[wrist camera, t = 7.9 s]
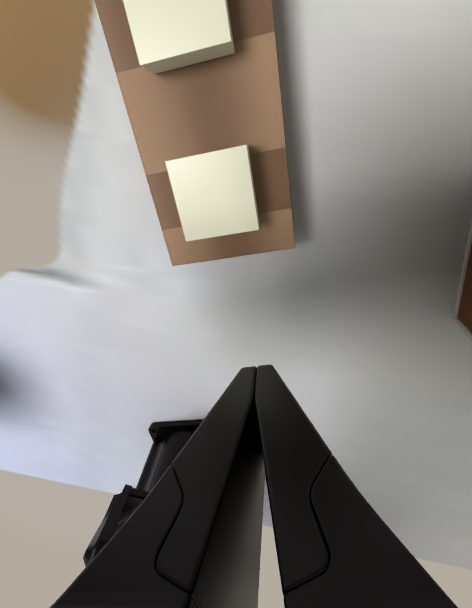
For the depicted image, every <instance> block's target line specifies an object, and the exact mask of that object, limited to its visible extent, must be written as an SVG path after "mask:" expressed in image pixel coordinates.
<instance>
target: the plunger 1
mask: <svg viewBox="0 0 472 608" xmlns="http://www.w3.org/2000/svg"><path fill="white" fill-rule="evenodd" d="M123 3H124V6H125V10H126V14H127V18H128V22H129V26H130V29H131V33H132V37H133V41H134V45H135V48H136V52H137V56H138V60H139V64H140V66H142V67H143V68H145V69H146V70H148V71H149V72H151V73H152V74H157V73H161V72H165V71H168V70H172V69H176V68H180V67H184V66H188V65H192V64H196V63H199V62H203V61H207V60H211V59H215V58H219V57H223V56H227V55H230V54H234V53H235V50H234V43H233V36H232V30H231V23H230V16H229V9H228V2H227V0H123Z"/></svg>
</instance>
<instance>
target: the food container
mask: <svg viewBox="0 0 472 608" xmlns="http://www.w3.org/2000/svg"><path fill="white" fill-rule="evenodd" d="M453 319H454V320H455V321H456V322H457V324H458V325H459V326H460V327H461V328H462V329H463V330H464V331H465V332H466V333H467V334H468V336H469V337H470V338H471V339H472V217H471V222H470V227H469V233H468V238H467V244H466V249H465V254H464V260H463V265H462V270H461V276H460V281H459V287H458V292H457V297H456V303H455V308H454V313H453Z"/></svg>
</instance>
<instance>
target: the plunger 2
mask: <svg viewBox="0 0 472 608" xmlns="http://www.w3.org/2000/svg"><path fill="white" fill-rule="evenodd" d="M165 163H166V167H167V171H168V175H169V178H170V182H171V186H172V190H173V194H174V198H175V201H176V205H177V209H178V213H179V217H180V220H181V224H182V228H183V232H184V236H185V240H186V241H193V240H199V239H205V238H211V237H217V236H224V235H230V234H236V233H242V232H248V231H255V230H259V217H258V210H257V203H256V196H255V189H254V182H253V175H252V168H251V161H250V154H249V147H248V145H242V146H237V147H232V148H228V149H223V150H218V151H213V152H208V153H204V154H199V155H194V156H189V157H184V158H180V159H175V160H170V161H165Z"/></svg>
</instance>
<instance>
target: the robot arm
mask: <svg viewBox="0 0 472 608" xmlns="http://www.w3.org/2000/svg"><path fill="white" fill-rule="evenodd" d="M149 433H150V435H151V437H152V439H153V445H152V447H151V450H150V453H149V455H148V458H147V461H146V463H145V466H144V469H143V471H142V474H141V477H140V479H139V482H138V485H137V487H136V488H132V486H130V485H125V487H124V489H123V491H122V492H121V493H120V494H117V495H114V497H113V499H112V501H111V504H110V506H109V508H108V510H107V513H106V515H105V517H104V519H103V521H102V523H101V525H100V526H99V528H98V530H97V532H96V533H95V535H94V537H93V539H92V540H91V542H90V544H89V546H88V548H87V550H86V552H85V555H84V557H83V559H84V563H85V566H86V568H85V569H84V570H83V571H82V572H81V574H80V575H79V576H78V577H77V578H76V579H75V580H74V582H73V583H72V584H71V585H70V586H69V587H68V588H67V590H66V591H65V592H64V593H63V594H62V595H61V596H60V597H59V598H58V599H57V601H56V602H55V603H54V604H53V605H52V606H51V607H50V608H257V607H258V588H259V571H260V553H261V535H262V518H263V500H264V482H265V474H266V481H267V488H268V495H269V502H270V509H271V516H272V522H273V529H274V536H275V543H276V550H277V556H278V564H279V570H280V577H281V584H282V591H283V595H284V605H285V608H458V607H457V606H456V605H455V604H454V603H453V601H452V600H451V599H450V598H449V597H448V596H447V595H446V594H445V592H444V591H443V590H442V589H441V588H440V587H439V585H438V584H437V583H436V582H435V581H434V580H433V579H432V577H431V576H430V575H429V574H428V573H427V572H426V570H425V569H424V568H423V567H422V566H421V565H420V563H419V562H418V561H417V560H416V559H415V557H414V556H413V555H412V554H411V553H410V552H409V551H408V549H407V548H406V547H405V546H404V545H403V544H402V542H401V541H400V540H399V539H398V538H397V537H396V535H395V534H394V533H393V532H392V531H391V530H390V528H389V527H388V526H387V525H386V524H385V523H384V521H383V520H382V519H381V518H380V517H379V515H378V514H377V513H376V512H375V510H374V509H373V508H372V507H371V506H370V504H369V503H368V502H367V501H366V499H365V498H364V497H363V496H362V495H361V493H360V492H359V491H358V489H357V488H356V486H355V485H354V484H353V482H352V481H351V480H350V478H349V477H348V475H347V474H346V473H345V471H344V470H343V468H342V467H341V465H340V464H339V463H338V461H337V460H336V458H335V457H334V456H333V455H332V453H331V451H330V450H329V448H328V447H327V445H326V444H325V442H324V441H323V439H322V438H321V436H320V435H319V433H318V432H317V430H316V429H315V427H314V426H313V424H312V423H311V421H310V420H309V419H308V417H307V416H306V414H305V413H304V411H303V410H302V408H301V407H300V405H299V404H298V402H297V401H296V399H295V398H294V396H293V395H292V393H291V392H290V390H289V389H288V387H287V386H286V385H285V383H284V382H283V380H282V379H281V377H280V376H279V374H278V373H277V371H276V370H275V368H274V367H273V366H272V365H262V366H258V367H257V368H256V367H255V366H253V367H244V368H242V369H241V370H240V371H239V372H238V374H237V375H236V376H235V378H234V379H233V381H232V382H231V383H230V385H229V386H228V387H227V389H226V390H225V391H224V393H223V394H222V396H221V397H220V398H219V400H218V401H217V402H216V404H215V405H214V406H213V408H212V409H211V411H210V412H209V413H208V415H207V416H206V417H205V419H204V420H203V421H188V422H171V423H155V424H151V425H150V427H149Z"/></svg>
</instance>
